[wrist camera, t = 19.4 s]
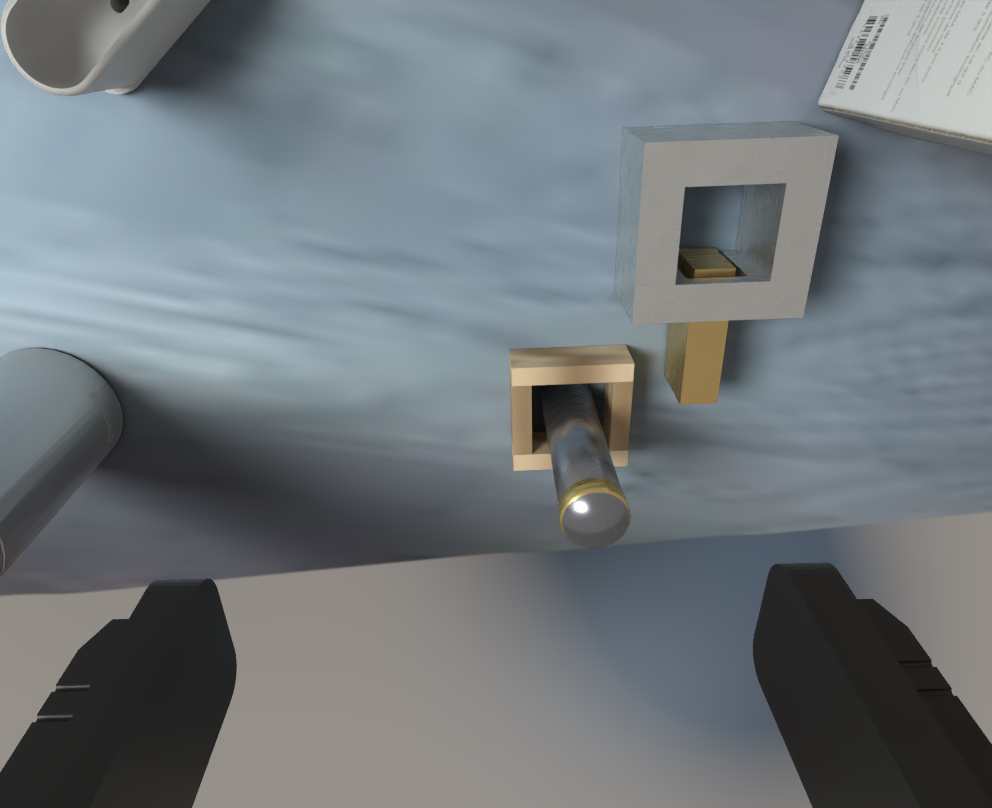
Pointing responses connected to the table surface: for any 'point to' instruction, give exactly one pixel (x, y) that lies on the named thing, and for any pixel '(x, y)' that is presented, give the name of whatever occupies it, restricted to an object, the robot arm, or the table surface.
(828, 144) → the socket block
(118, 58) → the phone holder
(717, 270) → the bar
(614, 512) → the grey metal cylinder
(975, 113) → the hard drive box
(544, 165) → the table surface
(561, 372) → the wooden square frame
